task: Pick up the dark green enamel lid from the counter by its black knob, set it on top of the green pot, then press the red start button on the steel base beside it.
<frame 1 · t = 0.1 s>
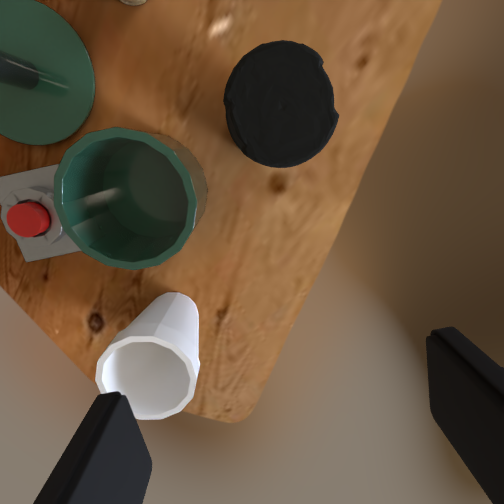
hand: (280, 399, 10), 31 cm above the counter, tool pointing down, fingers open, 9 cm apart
foam cup: (174, 313, 44), on the counter
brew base: (47, 213, 40), on the counter
start button: (28, 219, 36), point 3 cm above the counter, slide at 0.1 cm
pot lid: (28, 75, 35), point 1 cm above the counter
spray can: (264, 128, 37), on the counter
green pot: (153, 190, 39), on the counter
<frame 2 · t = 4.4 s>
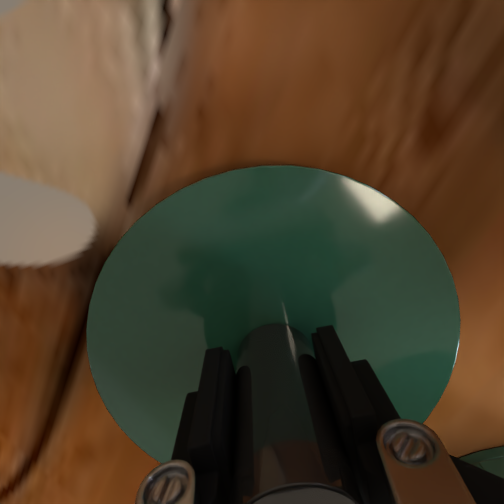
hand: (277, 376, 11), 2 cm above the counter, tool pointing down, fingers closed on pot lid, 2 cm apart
pot lid: (273, 348, 13), point 1 cm above the counter, touching gripper
when the fingers open (11 cm above the counter, at t = 10.5 s): pot lid stays where it is, resting on green pot.
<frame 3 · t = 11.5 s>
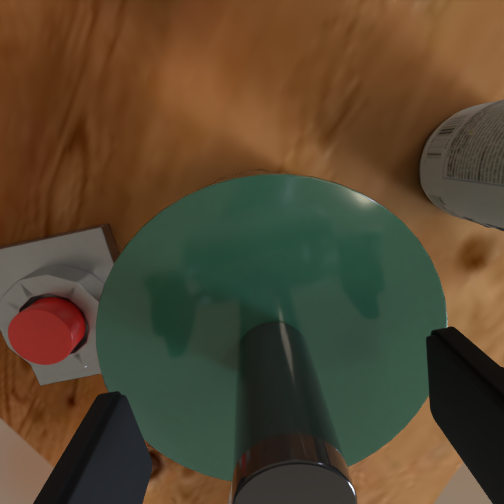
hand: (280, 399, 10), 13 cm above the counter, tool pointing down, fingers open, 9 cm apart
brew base: (77, 304, 23), on the counter
start button: (48, 330, 20), point 3 cm above the counter, slide at 0.1 cm
pot lid: (271, 346, 14), point 9 cm above the counter, touching green pot
spray can: (465, 162, 21), on the counter
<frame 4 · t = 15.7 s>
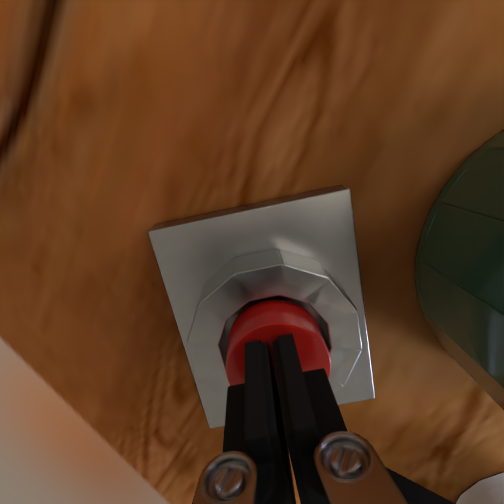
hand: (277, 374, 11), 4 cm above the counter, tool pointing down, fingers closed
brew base: (269, 309, 15), on the counter
start button: (276, 354, 12), point 3 cm above the counter, slide at 0.1 cm, touching gripper
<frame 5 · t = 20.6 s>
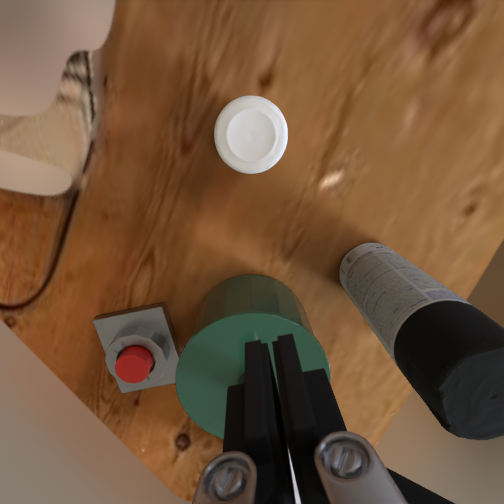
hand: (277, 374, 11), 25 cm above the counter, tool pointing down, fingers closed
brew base: (143, 346, 40), on the counter
start button: (134, 364, 36), point 3 cm above the counter, slide at 0.1 cm
sprinkles bottle: (248, 140, 33), on the counter
pot lid: (253, 379, 30), point 9 cm above the counter, touching green pot
spray can: (366, 268, 37), on the counter
green pot: (251, 324, 39), on the counter
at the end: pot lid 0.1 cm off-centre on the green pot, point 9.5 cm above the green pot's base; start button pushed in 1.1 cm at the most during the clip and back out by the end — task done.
